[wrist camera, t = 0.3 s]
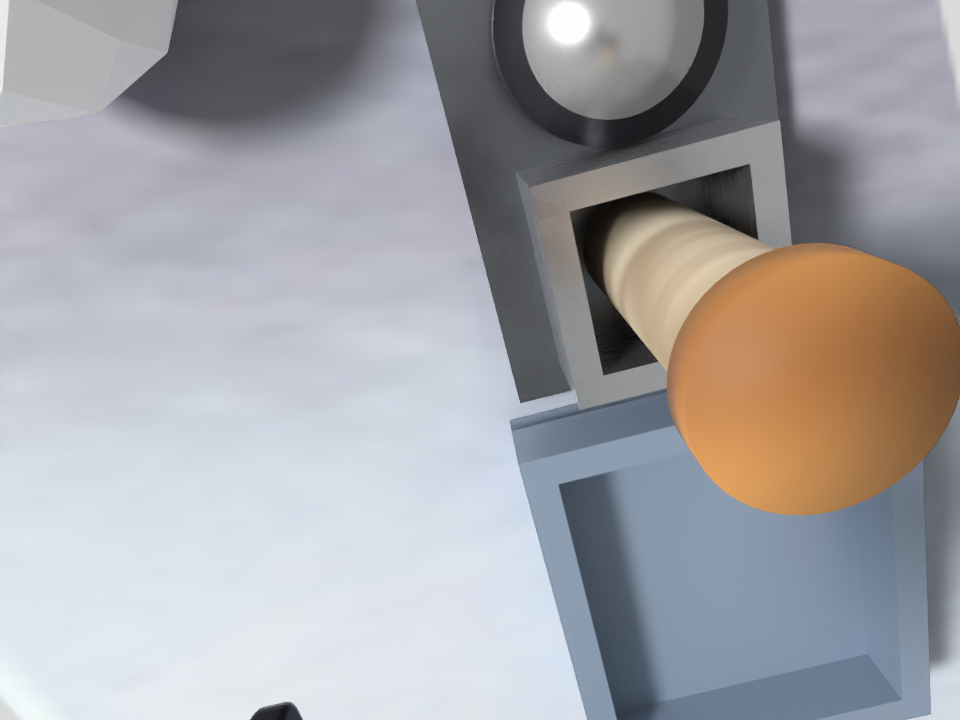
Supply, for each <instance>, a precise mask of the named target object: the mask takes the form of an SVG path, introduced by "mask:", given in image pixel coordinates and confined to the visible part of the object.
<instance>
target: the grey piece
mask: <svg viewBox="0 0 960 720" xmlns="http://www.w3.org/2000/svg"><path fill="white" fill-rule="evenodd" d="M416 2H417V6H418V10H419V14H420V18H421V22H422V26H423V29H424V33H425V37H426V41H427V45H428V49H429V53H430V56H431V60H432V64H433V68H434V72H435V76H436V80H437V83H438V87H439V91H440V95H441V99H442V103H443V107H444V110H445V114H446V118H447V122H448V126H449V130H450V134H451V137H452V141H453V145H454V149H455V153H456V157H457V161H458V164H459V168H460V172H461V176H462V180H463V184H464V188H465V191H466V195H467V199H468V203H469V207H470V211H471V215H472V218H473V222H474V226H475V230H476V234H477V238H478V242H479V245H480V249H481V253H482V257H483V261H484V265H485V269H486V272H487V276H488V280H489V284H490V288H491V292H492V296H493V299H494V303H495V307H496V311H497V315H498V319H499V323H500V326H501V330H502V334H503V338H504V342H505V346H506V350H507V353H508V357H509V361H510V365H511V369H512V373H513V377H514V380H515V384H516V388H517V392H518V396H519V400H520V403H523V402H527V401H531V400H534V399H538V398H542V397H546V396H550V395H554V394H558V393H562V392H566V391H570V390H571V391H572V393H573V396H574V398H575V400H576V403H577V405H578V407H579V410H582V409H586V408H590V407H594V406H598V405H602V404H606V403H610V402H614V401H618V400H622V399H626V398H630V397H633V396H637V395H641V394H645V393H649V392H653V391H657V390H661V389H665V388H667V371H666V370H665V369H664V367H663V366H662V365H661V364H660V362H659V361H658V360H657V359H656V357H655V356H654V355H653V354H652V352H651V351H650V350H649V349H648V347H647V346H646V345H645V344H644V342H643V341H642V340H641V339H640V337H639V336H638V335H637V334H636V333H635V331H634V330H633V329H632V328H631V326H630V325H629V324H628V323H627V321H626V320H625V319H624V318H623V316H622V315H621V314H620V313H619V311H618V310H617V309H616V308H615V306H614V305H613V304H612V303H611V301H610V300H609V299H608V298H607V296H606V295H605V294H604V293H603V291H602V290H601V289H600V288H599V286H598V285H597V284H596V283H595V281H594V280H593V279H592V277H591V276H590V274H589V272H588V270H587V268H586V264H585V261H584V254H583V246H584V239H585V235H586V232H587V229H588V227H589V225H590V223H591V221H592V219H593V218H594V216H595V215H596V214H597V212H598V211H599V210H600V209H601V208H602V207H603V206H605V205H606V204H607V203H608V202H610V201H611V200H615V199H619V198H622V197H626V196H630V195H634V194H637V193H641V192H652V193H657V194H659V195H662V196H664V197H666V198H669V199H671V200H673V201H675V202H677V203H679V204H681V205H684V206H686V207H688V208H690V209H692V210H694V211H696V212H699V213H701V214H703V215H705V216H707V217H709V218H711V219H714V220H716V221H718V222H720V223H722V224H724V225H727V226H729V227H731V228H733V229H735V230H737V231H739V232H742V233H744V234H746V235H748V236H750V237H752V238H754V239H757V240H759V241H761V242H763V243H765V244H767V245H769V246H772V247H774V248H776V249H778V248H781V247H785V246H791V245H792V240H791V230H790V220H789V209H788V199H787V188H786V178H785V167H784V157H783V147H782V136H781V126H780V120H779V116H778V105H777V95H776V84H775V74H774V64H773V53H772V43H771V33H770V22H769V12H768V1H767V0H416Z"/></svg>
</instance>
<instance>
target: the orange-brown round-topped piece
mask: <svg viewBox="0 0 960 720" xmlns="http://www.w3.org/2000/svg"><path fill="white" fill-rule="evenodd" d="M583 254H584V261H585V264H586V268H587V270H588V272H589V274H590V276H591V277H592V279H593V280H594V281H595V283H596V284H597V285H598V286H599V288H600V289H601V290H602V291H603V293H604V294H605V295H606V296H607V298H608V299H609V300H610V301H611V303H612V304H613V305H614V306H615V308H616V309H617V310H618V311H619V313H620V314H621V315H622V316H623V318H624V319H625V320H626V321H627V323H628V324H629V325H630V326H631V328H632V329H633V330H634V331H635V333H636V334H637V335H638V336H639V337H640V339H641V340H642V341H643V342H644V344H645V345H646V346H647V347H648V349H649V350H650V351H651V352H652V354H653V355H654V356H655V357H656V359H657V360H658V361H659V362H660V364H661V365H662V366H663V367H664V369H665V370H666V371H667V397H668V404H669V408H670V412H671V416H672V419H673V421H674V424H675V426H676V428H677V430H678V432H679V434H680V435H681V437H682V439H683V440H684V442H685V443H686V445H687V446H688V448H689V449H690V451H691V452H692V453H693V455H694V456H695V458H696V459H697V461H698V462H699V464H700V465H701V466H702V468H703V469H704V471H705V472H706V473H707V475H708V476H709V477H710V478H711V479H712V480H713V482H714V483H715V484H716V485H718V486H719V487H720V488H721V489H722V490H723V491H724V492H726V493H727V494H729V495H730V496H732V497H733V498H735V499H736V500H738V501H740V502H742V503H744V504H746V505H749V506H751V507H753V508H756V509H760V510H763V511H766V512H771V513H777V514H783V515H814V514H822V513H827V512H832V511H837V510H840V509H843V508H847V507H850V506H853V505H855V504H858V503H860V502H863V501H865V500H868V499H870V498H871V497H873V496H875V495H877V494H879V493H881V492H883V491H884V490H886V489H887V488H889V487H890V486H892V485H893V484H895V483H896V482H898V481H899V480H901V479H902V478H903V477H904V476H905V475H907V474H908V473H909V472H910V471H911V470H913V469H914V468H915V467H916V466H917V465H918V464H919V463H920V462H921V461H922V460H923V459H924V458H925V457H926V455H927V454H928V453H929V452H930V450H931V449H932V448H933V447H934V445H935V444H936V443H937V442H938V440H939V439H940V437H941V435H942V434H943V432H944V431H945V429H946V427H947V426H948V424H949V422H950V419H951V417H952V415H953V413H954V411H955V409H956V406H957V403H958V400H959V397H960V327H959V324H958V322H957V320H956V317H955V315H954V313H953V311H952V309H951V308H950V306H949V305H948V303H947V301H946V300H945V298H944V297H943V296H942V295H941V294H940V293H939V292H938V291H937V289H936V288H935V287H934V286H932V285H931V284H930V283H929V282H927V281H926V280H925V279H924V278H922V277H921V276H919V275H918V274H916V273H914V272H912V271H911V270H909V269H907V268H905V267H902V266H899V265H897V264H894V263H892V262H889V261H886V260H884V259H881V258H878V257H876V256H873V255H870V254H868V253H865V252H862V251H860V250H857V249H854V248H852V247H847V246H843V245H838V244H830V243H804V244H796V245H791V246H785V247H781V248H778V249H776V248H774V247H772V246H769V245H767V244H765V243H763V242H761V241H759V240H757V239H754V238H752V237H750V236H748V235H746V234H744V233H742V232H739V231H737V230H735V229H733V228H731V227H729V226H727V225H724V224H722V223H720V222H718V221H716V220H714V219H711V218H709V217H707V216H705V215H703V214H701V213H699V212H696V211H694V210H692V209H690V208H688V207H686V206H684V205H681V204H679V203H677V202H675V201H673V200H671V199H669V198H666V197H664V196H662V195H659V194H657V193H652V192H641V193H637V194H634V195H630V196H626V197H622V198H619V199H615V200H611V201H610V202H608V203H607V204H606V205H605V206H603V207H602V208H601V209H600V210H599V211H598V212H597V214H596V215H595V216H594V218H593V219H592V221H591V223H590V225H589V227H588V229H587V232H586V235H585V239H584V246H583Z"/></svg>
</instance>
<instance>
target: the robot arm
mask: <svg viewBox="0 0 960 720" xmlns="http://www.w3.org/2000/svg"><path fill="white" fill-rule="evenodd" d="M250 720H303V719H302V717H301V715H300V713H299V711H298V709H297V708H296V706H295V705H294V704H293V703H291V702H283V703H279V704H275V705H270V706H266V707H263V708H261V709H259V710H258V711H257V712H256V713H255V714H254V715H253V716H252V718H251V719H250Z"/></svg>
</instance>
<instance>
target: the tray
mask: <svg viewBox="0 0 960 720" xmlns="http://www.w3.org/2000/svg"><path fill="white" fill-rule="evenodd" d="M510 424H511V429H512V434H513V439H514V444H515V449H516V454H517V459H518V464H519V468H520V472H521V475H522V479H523V483H524V487H525V490H526V494H527V498H528V501H529V505H530V509H531V512H532V516H533V520H534V524H535V527H536V531H537V535H538V538H539V542H540V546H541V550H542V553H543V557H544V561H545V564H546V568H547V572H548V576H549V579H550V583H551V587H552V590H553V594H554V598H555V601H556V605H557V609H558V613H559V616H560V620H561V624H562V627H563V631H564V635H565V639H566V642H567V646H568V650H569V653H570V657H571V661H572V664H573V668H574V672H575V676H576V679H577V683H578V687H579V690H580V694H581V698H582V702H583V705H584V709H585V713H586V716H587V720H907V719H911V718H916V717H920V716H924V715H929V714H931V699H930V667H929V634H928V602H927V569H926V537H925V504H924V472H923V460H922V461H921V462H920V463H919V464H918V465H917V466H916V467H915V468H914V469H913V470H911V471H910V472H909V473H908V474H907V475H905V476H904V477H903V478H902V479H901V480H899V481H898V482H896V483H895V484H893V485H892V486H890V487H889V488H887V489H886V490H884V491H883V492H881V493H879V494H877V495H875V496H873V497H871V498H870V499H868V500H865V501H863V502H860V503H858V504H855V505H853V506H850V507H847V508H843V509H840V510H837V511H832V512H827V513H822V514H814V515H783V514H777V513H771V512H766V511H763V510H760V509H756V508H753V507H751V506H749V505H746V504H744V503H742V502H740V501H738V500H736V499H735V498H733V497H732V496H730V495H729V494H727V493H726V492H724V491H723V490H722V489H721V488H720V487H719V486H718V485H716V484H715V483H714V482H713V480H712V479H711V478H710V477H709V476H708V475H707V473H706V472H705V471H704V469H703V468H702V466H701V465H700V464H699V462H698V461H697V459H696V458H695V456H694V455H693V453H692V452H691V451H690V449H689V448H688V446H687V445H686V443H685V442H684V440H683V439H682V437H681V435H680V434H679V432H678V430H677V428H676V426H675V424H674V421H673V419H672V416H671V412H670V408H669V404H668V397H667V388H665V389H661V390H657V391H653V392H649V393H645V394H641V395H637V396H633V397H630V398H626V399H622V400H618V401H614V402H610V403H606V404H602V405H598V406H594V407H590V408H586V409H582V410H579V407H578V405H577V404H574V405H570V406H566V407H562V408H558V409H554V410H550V411H546V412H542V413H538V414H534V415H530V416H526V417H522V418H518V419H514V420H510Z"/></svg>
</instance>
